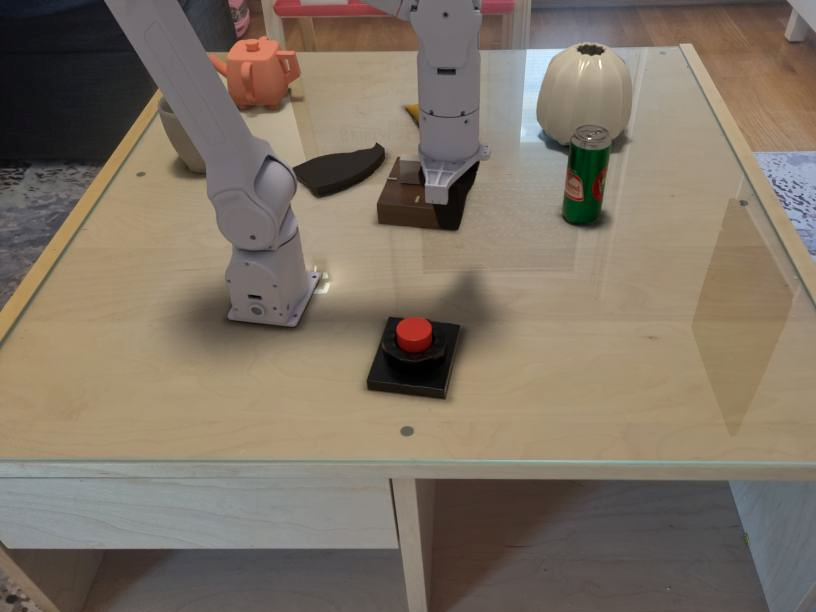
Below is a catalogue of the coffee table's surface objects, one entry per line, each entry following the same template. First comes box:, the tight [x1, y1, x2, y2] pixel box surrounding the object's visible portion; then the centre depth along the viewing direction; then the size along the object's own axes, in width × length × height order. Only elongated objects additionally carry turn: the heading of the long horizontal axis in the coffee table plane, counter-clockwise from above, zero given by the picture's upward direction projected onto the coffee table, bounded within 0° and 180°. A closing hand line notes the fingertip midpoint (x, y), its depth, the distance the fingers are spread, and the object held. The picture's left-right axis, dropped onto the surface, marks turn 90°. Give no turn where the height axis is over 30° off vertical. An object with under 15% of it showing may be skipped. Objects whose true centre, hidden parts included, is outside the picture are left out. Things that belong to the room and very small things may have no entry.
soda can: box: [561, 124, 613, 226], centre depth 94 cm, size 5×5×12 cm
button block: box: [366, 316, 462, 399], centre depth 78 cm, size 10×8×3 cm
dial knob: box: [399, 153, 421, 185], centre depth 98 cm, size 6×2×4 cm, turn 81°
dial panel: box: [376, 156, 451, 231], centre depth 100 cm, size 12×10×3 cm
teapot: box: [208, 35, 302, 110], centre depth 120 cm, size 12×12×10 cm
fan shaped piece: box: [291, 141, 386, 198], centre depth 106 cm, size 8×14×2 cm, turn 125°
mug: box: [156, 95, 206, 174], centre depth 106 cm, size 12×9×10 cm
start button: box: [396, 316, 432, 353], centre depth 77 cm, size 4×4×2 cm
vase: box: [535, 41, 633, 147], centre depth 110 cm, size 14×14×13 cm
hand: (449, 225), depth 79 cm, fingers closed
